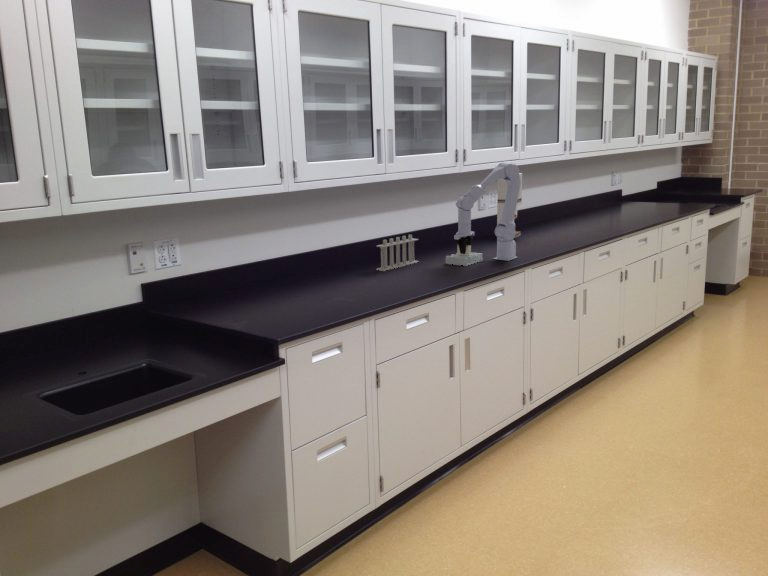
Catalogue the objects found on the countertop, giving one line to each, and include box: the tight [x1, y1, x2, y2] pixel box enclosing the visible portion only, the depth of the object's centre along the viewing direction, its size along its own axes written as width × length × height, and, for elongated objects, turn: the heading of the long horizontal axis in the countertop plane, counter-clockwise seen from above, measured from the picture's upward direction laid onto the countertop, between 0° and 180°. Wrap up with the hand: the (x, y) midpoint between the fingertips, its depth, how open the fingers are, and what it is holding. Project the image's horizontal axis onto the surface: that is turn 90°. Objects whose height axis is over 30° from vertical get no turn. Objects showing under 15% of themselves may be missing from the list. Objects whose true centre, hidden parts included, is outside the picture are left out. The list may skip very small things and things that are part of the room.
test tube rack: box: [375, 234, 420, 272], centre depth 301 cm, size 25×4×13 cm, turn 139°
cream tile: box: [456, 244, 472, 256], centre depth 306 cm, size 2×6×7 cm, turn 52°
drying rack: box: [445, 251, 484, 267], centre depth 307 cm, size 14×11×4 cm
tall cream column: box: [496, 172, 523, 239], centre depth 376 cm, size 11×11×35 cm
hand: (464, 253), depth 306 cm, fingers closed on cream tile, 2 cm apart
